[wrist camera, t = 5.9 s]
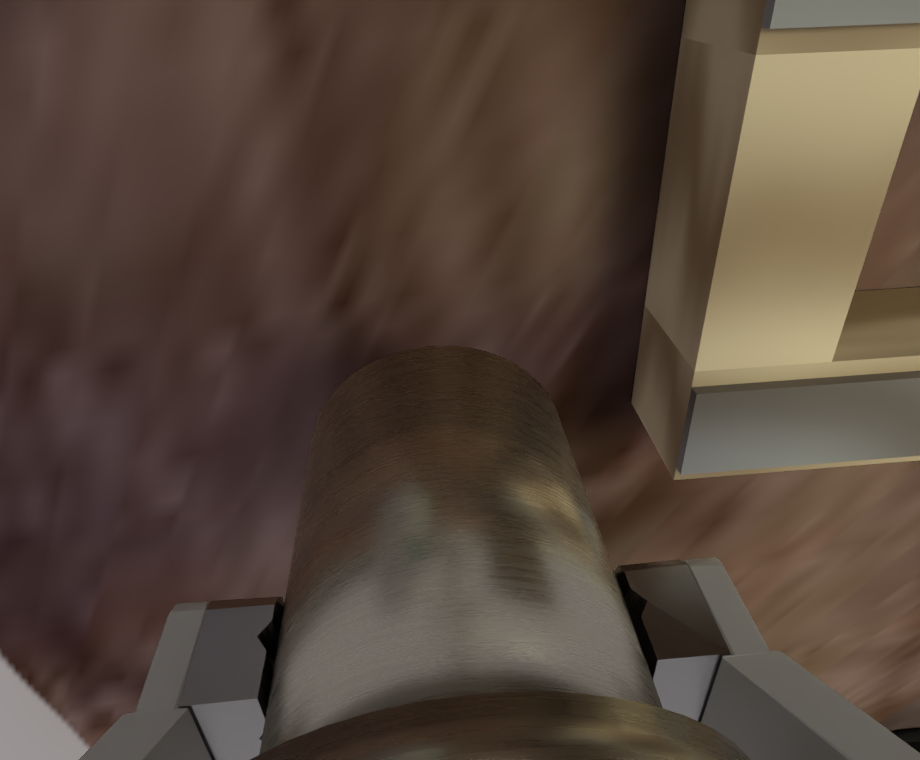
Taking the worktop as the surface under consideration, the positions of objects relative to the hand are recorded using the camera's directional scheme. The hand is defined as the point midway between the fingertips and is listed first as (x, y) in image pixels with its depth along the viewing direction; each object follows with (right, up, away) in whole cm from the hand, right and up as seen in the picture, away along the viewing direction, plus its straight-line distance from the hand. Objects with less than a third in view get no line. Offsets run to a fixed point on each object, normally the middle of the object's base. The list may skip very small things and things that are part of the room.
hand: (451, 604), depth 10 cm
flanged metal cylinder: (0, +2, +3) cm, 4 cm away
